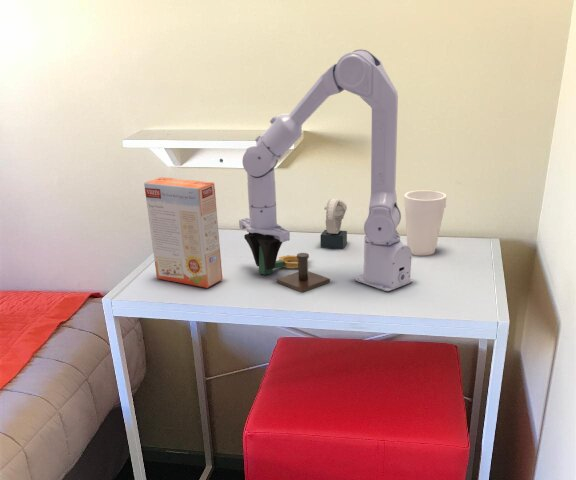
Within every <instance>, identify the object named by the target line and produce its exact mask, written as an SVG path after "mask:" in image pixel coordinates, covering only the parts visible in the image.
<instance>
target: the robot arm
mask: <svg viewBox="0 0 576 480" xmlns="http://www.w3.org/2000/svg"><path fill="white" fill-rule="evenodd" d="M343 91H346V92H348V93H351V94H353V95H356V96H358V97H359V98H360V99H361V100H362V101H364V103H366V105H368V106H369V107H370V108H371V144H370V145H371V146H370V147H371V153H370V155H371V158H370V197H369V205H368V215H367V217H366V220H365V221H364V225H363V232H364V241H363V242H364V243H363V250H364V251H363V274H362V275H359V276H356V277H354V281H355V282H358V283H361V284H364V285H367V286H370V287H373V288H375V289H378V290H381V291H385V292H391V291H393V290H395V289H398V288H401V287H403V286H406V285H408V284H411V283H412V282H413V279H412V278H411V273H412V272H411V271H412V255H413V254H411V250H410V248H409V247H408V246H407V244H406V245H405V244H404V243H403V242H402V241H401V235H400V234H399V231H398V230H397V228H398V226H399V225H400V223H401V220H402V212H401V210H400V208H399V205H398V195H397V190H396V183H397V182H396V181H397V180H396V179H397V150H398V149H397V144H398V143H397V142H398V141H397V140H398V113H399V111H398V107H399V106H398V105H399V95H398V90H397V89H396V87H395V85H394V83H393V81H391V78H390V77H389V75H388V73H387V71H386V70H385V68H384V65H383V63H382V60H380V59H379V58H378V57H377V56H375V55H374V54H373V53H372V52H370V50H367V49H363V48H360V49H355V50H353V51H351V52H347V53H345V54H343V55H342V56H341V57H340V58H339V59H338V61H337V62H336V63H334V64H333V65H331V66H330V67H329V68H327V69H326V71H324V73H322V74H321V75H320V76H319V78H318V79H317V80H316V81H315V82H314V84H313V85H312V86H311V87H310V88H309V90H308V91H307V92H306V93H305V94H304V95H303V97H302V98H301V99H300V101H299V102H298V103H297V104H296V105H295V107H294V108H293V109H292V111H291V112H290V113H280V114H279V115H278V116H277V115H274V116H273V117H271V119H270V120H269V123H270V125H269V126H268V127H267V128H266V129H265V131H263V133H262V134H261V135H258V136H256V137H255V138H254V141H255V143H256V144H254V145H251V146H248V148H246V150H245V152H244V154H243V156H242V162H241V163H242V166H243V169H244V171H245V172H246V177H247V195H248V196H247V197H248V198H247V199H248V200H247V201H248V210H249V211H248V215H249V218H247V217H244V218H240V219H238V225H239V226H238V227H239V229H241V230H246V232H247V233H245V234H244V236H243V237H244V240H245V242H247V244H248V246H249V248H250V251H251V253H252V256H253V259H254V263H255V266H256V267H259V246H261V248H262V252H263V256H264V265H265V268H266V270H269V269H272V268H275V263H276V261H277V258H278V254H279V252H280V249H281V246H282V244H283V243H285V242H288V241H290V240H291V236H290V235H291V234H290V231H289V230H288V229H285V228H284V227H282V225H280V224H279V223H278V219H277V216H278V215H277V194H276V177H275V176H276V175H275V168H276V167H277V166H278V165H277V164H278V162H279V160H281V159H282V158H283V156H284V155H286V153H288V151H289V150H290V149H291V148H292V147H293V146H294V145H295V143H297V141H298V140H299V139H300V138H301V137H302V135H303V133H302V131H303V129H302V128H303V125H304V124H305V122H306V121H308V119H309V118H310V117H311V116H312V115H313V114H314V113H315V112H316V111H317V110H318V109H319V108H320V107H321V106H322V105H323V104H324V103H325V102H326V100H328V98H330V97H331V96H334V95H338V94H340V93H341V92H343ZM275 269H276V268H275Z"/></svg>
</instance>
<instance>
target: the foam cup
mask: <svg viewBox="0 0 576 480" xmlns="http://www.w3.org/2000/svg"><path fill="white" fill-rule="evenodd" d="M403 207H404V217H405V230H406V246H408V247H409V248H410V250H411V255H414V256H430V255H433V254H435V253H436V249H437V245H438V239H439V236H440V231H441V226H442V221H443V216H444V213H445V208H446V207H447V193H444V192H442V191H437V190H429V189H421V190H419V189H418V190H410V191H407V192H405V193H404V195H403Z"/></svg>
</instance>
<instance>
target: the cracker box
mask: <svg viewBox="0 0 576 480" xmlns="http://www.w3.org/2000/svg"><path fill="white" fill-rule="evenodd" d="M143 185H144V192H145V193H144V194H145V200H146V208H147V215H148V222H149V229H150V238H151V245H152V246H151V247H152V252H153V253H152V254H153V259H154V267H155V273H156V278H157V279H158V280H164V281H169V282H172V283H179V284H185V285H190V286H194V287H199V288H205V289H209V288H210V287H212V286H214V285H215V284H218V283H220V282H221V281H223V267H222V255H221V248H220V247H221V246H220V245H221V244H220V234H219V233H220V232H219V222H218V210H217V199H216V187H215V182H212V181H200V180H191V179H182V178H173V177H172V178H171V177H163V176H162V177H157V178H153V179H151V180H148V181H145V182H144V183H143Z"/></svg>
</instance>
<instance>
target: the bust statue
mask: <svg viewBox="0 0 576 480" xmlns="http://www.w3.org/2000/svg"><path fill="white" fill-rule="evenodd" d="M324 210H326V211H325V229H324V230H323V231H322V232H321V234H320V248H321V249H334V250H335V249H336V250H337V249H338V250H344V249H345V247H346V245H347V244H348V231H347V230H341V228H342V222H343V220H344V218H345V215H346V212H347V210H348V207H347V204H346V203H345V201H343V200H341V199H339V198H332V199H328V200H327V202H326V205H325V206H324Z"/></svg>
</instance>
